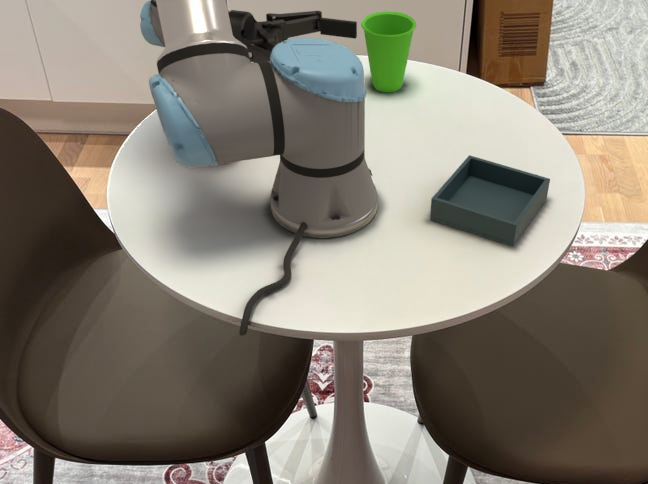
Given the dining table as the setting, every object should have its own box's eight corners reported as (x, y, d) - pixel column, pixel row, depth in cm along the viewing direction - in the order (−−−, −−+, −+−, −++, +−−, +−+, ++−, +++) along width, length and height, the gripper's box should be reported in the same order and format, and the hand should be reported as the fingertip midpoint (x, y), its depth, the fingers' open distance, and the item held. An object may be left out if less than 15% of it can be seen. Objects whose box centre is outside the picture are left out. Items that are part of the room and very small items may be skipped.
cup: (354, 94, 145) (354, 31, 137) (370, 69, 151) (370, 8, 143) (405, 101, 143) (408, 38, 135) (419, 77, 149) (422, 15, 141)
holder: (513, 246, 115) (516, 225, 113) (429, 219, 120) (431, 198, 117) (546, 199, 123) (550, 178, 121) (467, 175, 127) (469, 154, 125)
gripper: (255, 23, 159) (364, 37, 155) (204, 86, 142) (325, 103, 138) (251, -17, 153) (364, -5, 149) (197, 43, 136) (323, 59, 133)
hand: (345, 47), depth 144 cm, fingers open, 13 cm apart
